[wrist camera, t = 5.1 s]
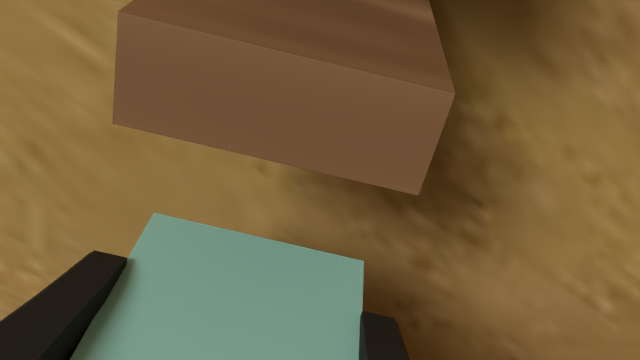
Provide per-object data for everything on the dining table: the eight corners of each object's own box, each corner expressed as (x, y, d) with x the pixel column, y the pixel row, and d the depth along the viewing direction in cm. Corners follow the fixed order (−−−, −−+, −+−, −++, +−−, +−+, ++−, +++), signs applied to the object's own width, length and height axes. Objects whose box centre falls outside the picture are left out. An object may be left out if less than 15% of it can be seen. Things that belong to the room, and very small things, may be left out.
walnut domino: (401, 42, 15) (418, 195, 9) (222, -3, 14) (112, 123, 8) (421, -25, 14) (456, 93, 8) (232, -73, 14) (117, 11, 8)
